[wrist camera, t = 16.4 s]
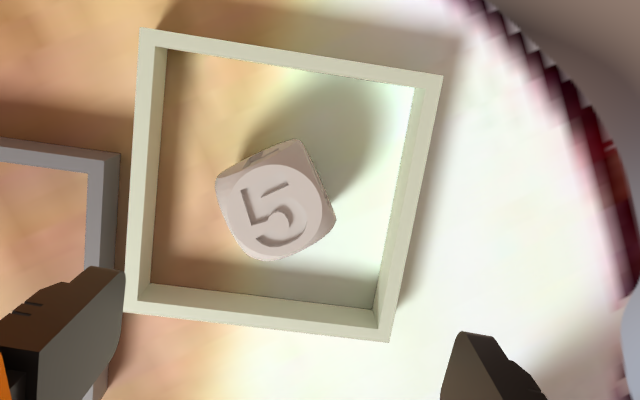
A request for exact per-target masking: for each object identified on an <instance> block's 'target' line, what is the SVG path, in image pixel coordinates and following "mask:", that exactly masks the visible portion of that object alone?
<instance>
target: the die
mask: <svg viewBox="0 0 640 400" xmlns="http://www.w3.org/2000/svg"><path fill="white" fill-rule="evenodd" d="M215 190H216V195H217V199H218V203H219V206H220V209H221V211H222V214H223V216H224V219H225V221H226V223H227V225H228V227H229V229H230V231H231V233H232V235H233V237H234V238H235V240H236V241H237V243H238V245H239V246H240V247H241V249H242V250H243V251H244V252H245V253H246V254H247V255H248V256H250V257H252V258H255V259H258V260H261V261H273V260H278V259H282V258H285V257H288V256H290V255H293V254H295V253H297V252H300V251H302V250H304V249H305V248H307V247H309V246H311V245H313V244H314V243H316V242H317V241H319V240H320V239H321V238H323V237H324V236H325V235H326V234H328V233H329V232H330V231H331V229H332V228H333V226H334V224H335V222H336V216H335V213H334V211H333V208H332V206H331V203H330V201H329V198H328V196H327V194H326V191H325V189H324V187H323V184H322V182H321V180H320V178H319V175H318V173H317V171H316V169H315V167H314V165H313V163H312V161H311V159H310V156H309V154H308V153H307V151H306V149H305V147H304V145H303V143H302V142H301V141H300V140H297V139H292V140H288V141H285V142H282V143H279V144H277V145H274V146H272V147H269V148H267V149H265V150H263V151H260V152H258V153H256V154H254V155H252V156H250V157H248V158H246V159H244V160H242V161H240V162H238V163H236V164H235V165H233V166H231V167H229V168H228V169H226V170H225V171H223V172H222V173H220V174H219V175H218V176H217V178H216V181H215Z"/></svg>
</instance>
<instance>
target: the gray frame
mask: <svg viewBox="0 0 640 400" xmlns="http://www.w3.org/2000/svg"><path fill="white" fill-rule="evenodd" d="M120 156H121V154H120V153H112V152H105V151H98V150H91V149H84V148H77V147H70V146H63V145H55V144H48V143H41V142H34V141H27V140H20V139H13V138H6V137H0V162H7V163H15V164H22V165H29V166H37V167H44V168H51V169H59V170H66V171H73V172H81V173H88V187H87V211H86V235H85V259H84V270H85V269H87V268H88V267H89V266H97V267H103V268H108V269H114V261H115V244H116V226H117V209H118V191H119V174H120ZM108 367H109V363H108V364H107V366H106V367H105V369H104V370H103V371H102V373H101V374H100V375H99V377H98V378H97V380H96V381H95V382H94V384H93V385H92V386H91V388H90V389H89V391H88V392H87V393H86V395H85V396H84V397H83V399H82V400H101V399H102V397H103V395H104V394H105V392H106V390H107V384H108Z"/></svg>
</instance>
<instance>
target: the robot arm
mask: <svg viewBox="0 0 640 400" xmlns="http://www.w3.org/2000/svg"><path fill="white" fill-rule="evenodd" d="M125 285H126V275H125V272H124V271H120V270H114V269H108V268H103V267H97V266H89V267H88V268H87V269H85V270H84V271H83V272H82V273H81V274H79V275H78V276H77V277H76V278H75V279H73V280H72V281H71V282H70V283H65V282H60V283H57V284H54V285H52V286H49V287H46V288H43V289H41V290H39V291H38V292H36V293H35V294H34V295H32V296H31V297H30V298H29V299H27V300H26V301H25V303H24V304H21V305H20V306H18V307H17V308H16V309H14V310H13V312H12V314H11V313H9V314H8V315H7V316H5V317H4V318H3V319H1V320H0V400H82V399H83V397H84V396H85V395H86V393H87V392H88V391H89V389H90V388H91V386H92V385H93V384H94V382H95V381H96V380H97V378H98V377H99V375H100V374H101V373H102V371H103V370H104V369H105V367H106V366H107V364H108V363H109V362H110V360H111V359H112V357H113V355H114V353H115V351H116V348H117V345H118V342H119V338H120V333H121V324H122V314H123V305H124V295H125ZM440 400H547V398H546V397H545V395H544V394H543V393H541V390H540V388H539V387H538V385H537V384H536V382H535V381H534V380H533V378H532V377H531V375H530V374H528V373H527V372H526V371H525V370H523V369H522V368H521V367H520V366H519V365H517V364H516V363H515V362H514V361H511V360H508V358H507V357H506V355H505V354H504V352H503V351H502V349H501V348H500V346H499V345H498V343H497V341H496V340H495V339H494V338H493V337H492V336H486V335H480V334H475V333H469V332H463V331H461V332H460V333H459V334H458V335H457V337H456V339H455V342H454V346H453V349H452V353H451V356H450V360H449V363H448V367H447V370H446V374H445V377H444V380H443V384H442V388H441V393H440Z"/></svg>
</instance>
